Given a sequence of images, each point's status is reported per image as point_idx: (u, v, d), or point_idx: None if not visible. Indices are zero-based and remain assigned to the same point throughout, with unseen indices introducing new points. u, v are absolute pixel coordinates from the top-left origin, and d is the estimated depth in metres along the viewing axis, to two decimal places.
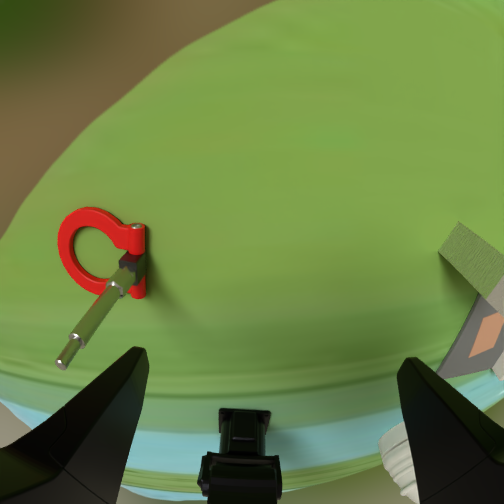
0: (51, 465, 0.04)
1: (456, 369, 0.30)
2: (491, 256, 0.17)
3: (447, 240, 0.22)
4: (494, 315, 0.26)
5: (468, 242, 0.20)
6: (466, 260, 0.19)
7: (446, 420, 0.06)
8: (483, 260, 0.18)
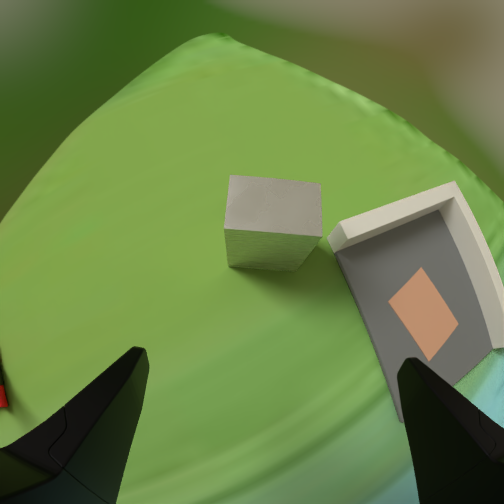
0: (51, 465, 0.04)
1: None
2: None
3: None
4: (406, 287, 0.23)
5: None
6: None
7: (446, 420, 0.06)
8: None
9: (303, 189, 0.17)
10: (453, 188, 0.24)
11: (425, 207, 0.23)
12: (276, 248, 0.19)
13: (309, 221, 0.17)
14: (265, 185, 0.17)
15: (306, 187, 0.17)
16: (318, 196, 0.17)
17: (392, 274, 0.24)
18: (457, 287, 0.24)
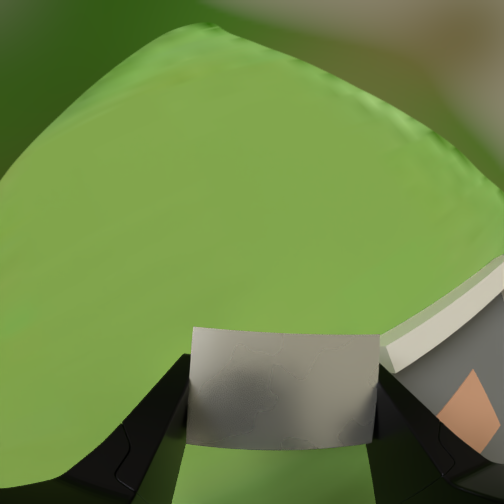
0: (122, 491, 0.04)
1: None
2: None
3: None
4: (452, 400, 0.14)
5: None
6: None
7: (401, 431, 0.06)
8: None
9: (347, 353, 0.08)
10: None
11: (494, 296, 0.13)
12: None
13: (353, 420, 0.07)
14: (268, 353, 0.08)
15: (353, 348, 0.08)
16: (374, 365, 0.08)
17: (439, 387, 0.14)
18: None
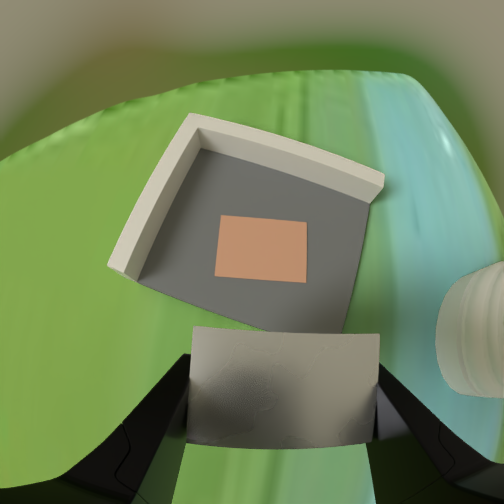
0: (122, 491, 0.04)
1: (330, 301, 0.22)
2: None
3: None
4: (221, 247, 0.23)
5: None
6: None
7: (401, 431, 0.06)
8: None
9: (347, 352, 0.08)
10: (192, 120, 0.24)
11: (172, 168, 0.22)
12: None
13: (353, 420, 0.07)
14: (268, 352, 0.08)
15: (353, 347, 0.08)
16: (374, 364, 0.08)
17: (198, 249, 0.23)
18: (275, 193, 0.25)
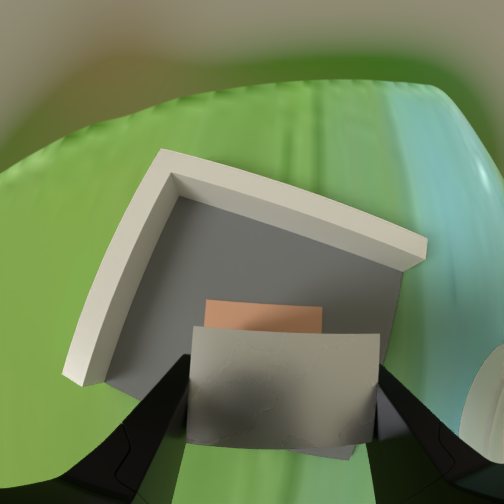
0: (122, 491, 0.04)
1: None
2: None
3: None
4: None
5: None
6: None
7: (401, 431, 0.06)
8: None
9: (347, 352, 0.08)
10: (164, 161, 0.17)
11: (135, 239, 0.15)
12: None
13: (353, 420, 0.07)
14: (268, 352, 0.08)
15: (353, 347, 0.08)
16: (374, 364, 0.08)
17: (178, 347, 0.17)
18: (281, 265, 0.19)
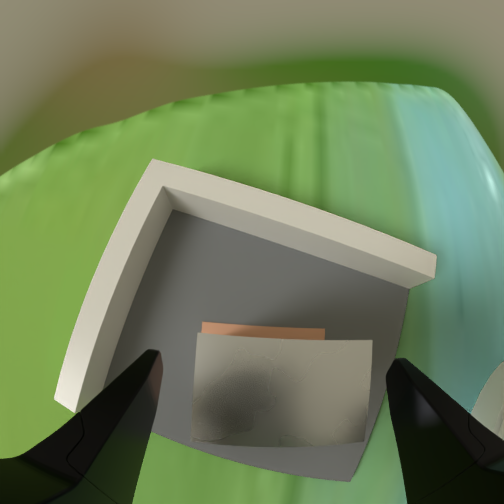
0: (70, 473, 0.04)
1: None
2: None
3: None
4: None
5: None
6: None
7: (434, 423, 0.06)
8: None
9: (341, 357, 0.08)
10: (155, 173, 0.16)
11: (125, 260, 0.14)
12: None
13: (346, 420, 0.08)
14: (267, 357, 0.08)
15: (347, 353, 0.08)
16: (366, 368, 0.08)
17: (173, 371, 0.15)
18: (281, 285, 0.17)
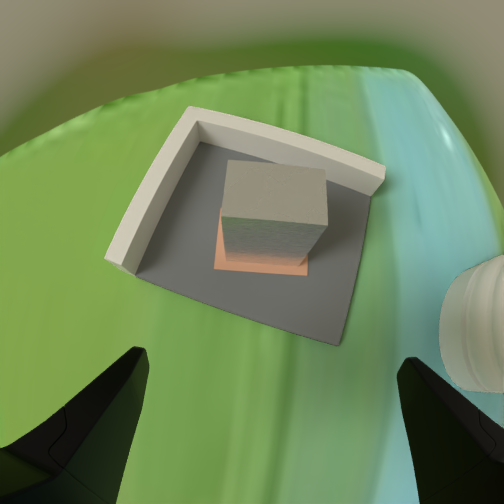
0: (51, 465, 0.04)
1: (331, 294, 0.22)
2: None
3: None
4: (221, 240, 0.23)
5: None
6: None
7: (446, 420, 0.06)
8: None
9: (307, 175, 0.16)
10: (191, 113, 0.23)
11: (171, 160, 0.22)
12: (278, 240, 0.17)
13: (314, 209, 0.15)
14: (265, 171, 0.16)
15: (310, 173, 0.16)
16: (323, 182, 0.16)
17: (197, 242, 0.23)
18: None
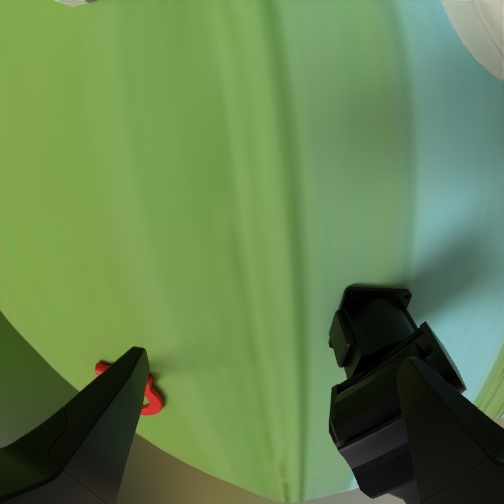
0: (51, 465, 0.04)
1: None
2: None
3: None
4: None
5: None
6: None
7: (446, 420, 0.06)
8: None
9: None
10: None
11: None
12: None
13: None
14: None
15: None
16: None
17: None
18: None
